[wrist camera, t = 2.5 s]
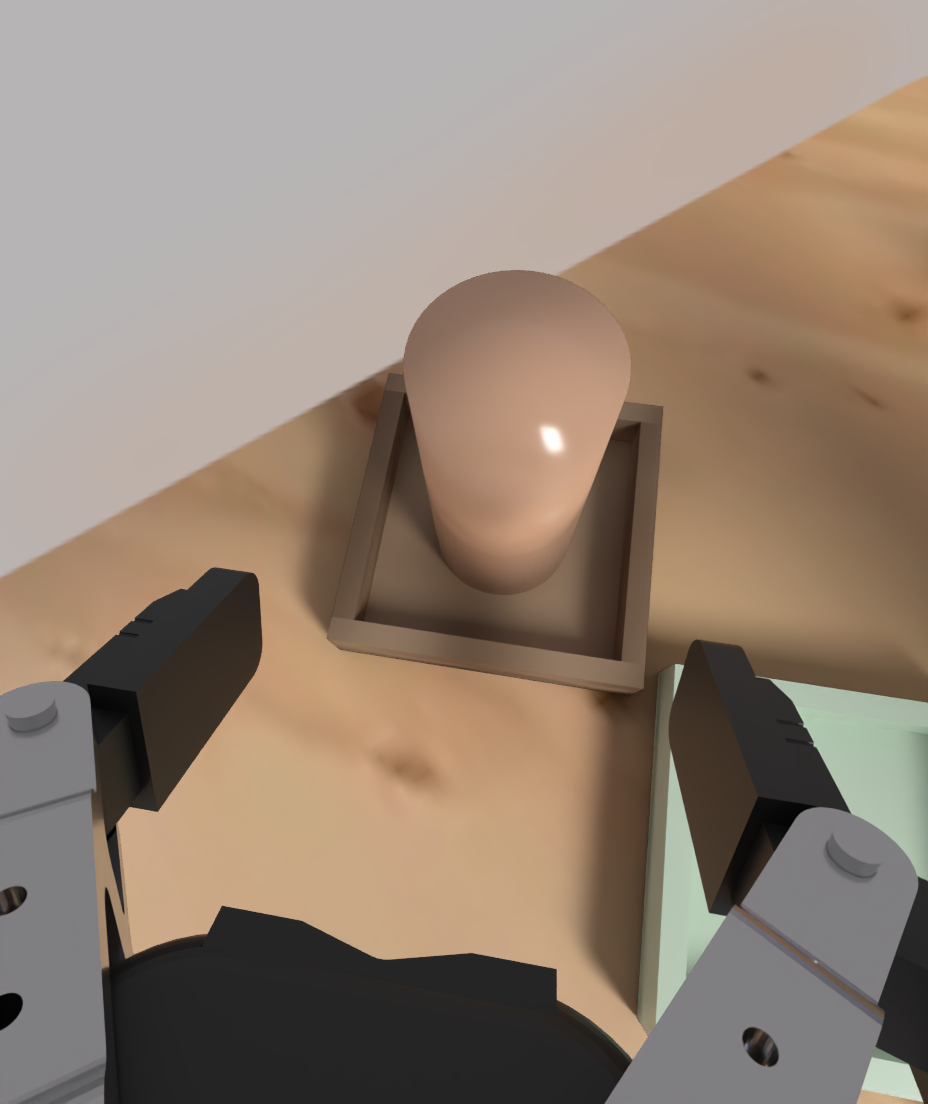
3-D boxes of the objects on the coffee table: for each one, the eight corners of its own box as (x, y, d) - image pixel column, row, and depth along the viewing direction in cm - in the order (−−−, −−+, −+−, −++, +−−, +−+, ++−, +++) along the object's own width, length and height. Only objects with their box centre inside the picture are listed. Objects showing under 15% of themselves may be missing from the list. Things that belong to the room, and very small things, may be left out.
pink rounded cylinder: (575, 481, 25) (639, 282, 15) (561, 604, 24) (621, 478, 13) (449, 464, 26) (425, 259, 15) (426, 584, 24) (382, 447, 14)
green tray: (968, 721, 22) (1017, 716, 20) (1001, 1090, 19) (1065, 1130, 17) (658, 672, 23) (675, 663, 21) (636, 1017, 20) (654, 1047, 18)
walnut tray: (649, 434, 27) (663, 406, 24) (629, 695, 23) (643, 688, 21) (395, 402, 27) (388, 373, 25) (340, 649, 24) (326, 638, 22)
